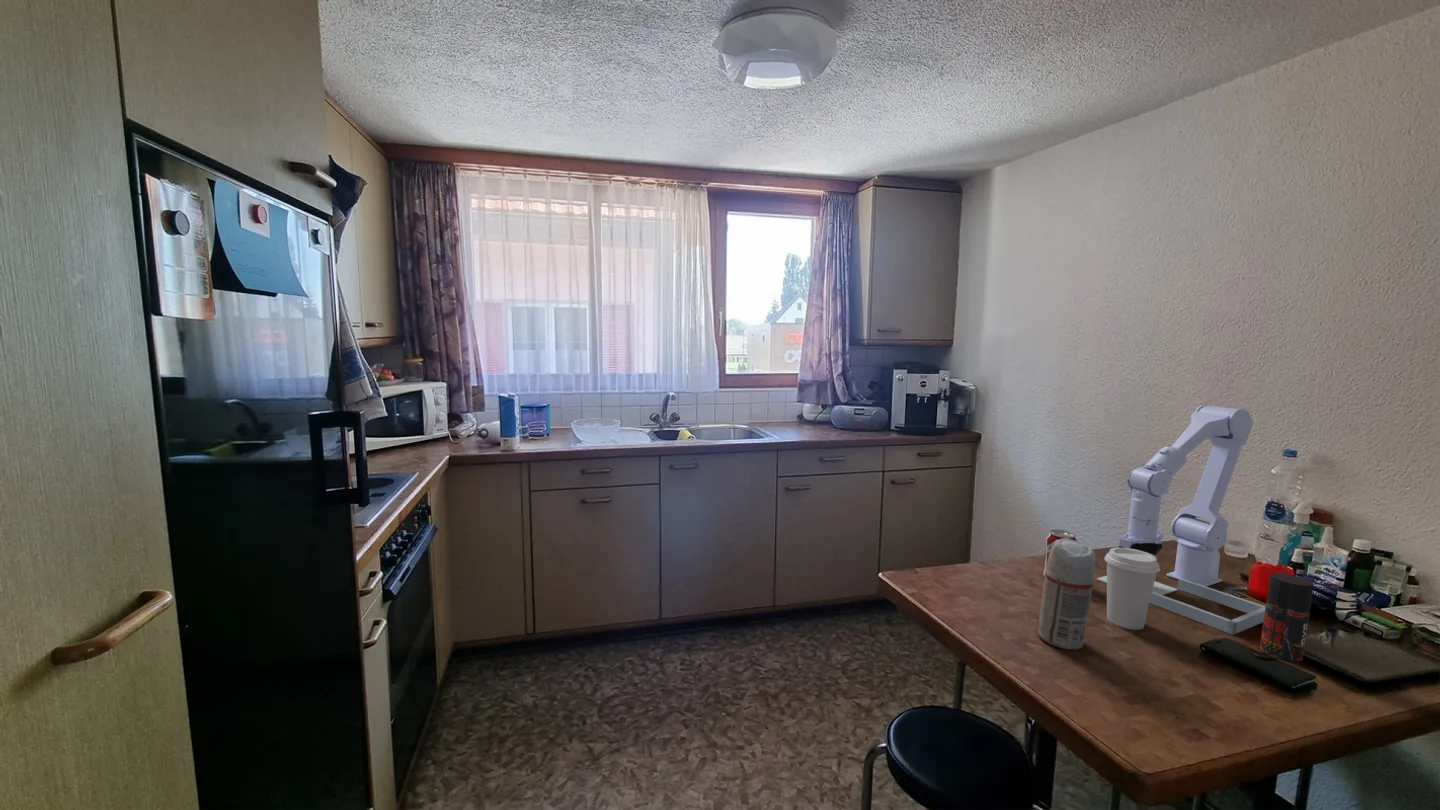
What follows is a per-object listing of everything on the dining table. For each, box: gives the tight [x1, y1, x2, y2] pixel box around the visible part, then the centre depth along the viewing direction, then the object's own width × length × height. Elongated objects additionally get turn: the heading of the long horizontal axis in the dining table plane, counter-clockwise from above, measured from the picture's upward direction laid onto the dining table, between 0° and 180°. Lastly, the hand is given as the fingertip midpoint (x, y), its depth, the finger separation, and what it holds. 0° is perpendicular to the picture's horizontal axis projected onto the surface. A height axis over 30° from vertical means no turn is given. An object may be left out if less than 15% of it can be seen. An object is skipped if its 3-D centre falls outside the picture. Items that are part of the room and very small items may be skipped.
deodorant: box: [1259, 572, 1315, 663], centre depth 111 cm, size 6×6×15 cm
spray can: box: [1036, 538, 1097, 650], centre depth 113 cm, size 8×8×20 cm
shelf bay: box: [1149, 578, 1266, 636], centre depth 129 cm, size 16×17×2 cm
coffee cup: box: [1104, 547, 1161, 631], centre depth 122 cm, size 10×10×15 cm
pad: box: [1096, 575, 1179, 596], centre depth 142 cm, size 12×12×1 cm
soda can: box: [1042, 529, 1078, 577], centre depth 143 cm, size 7×7×12 cm
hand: (1137, 571), depth 141 cm, fingers closed on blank, 4 cm apart
